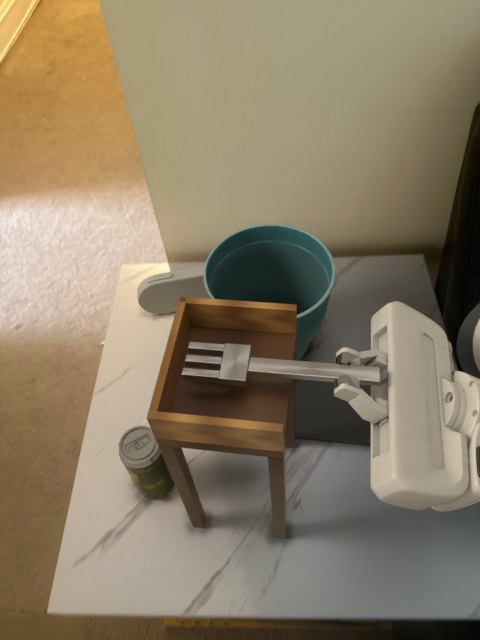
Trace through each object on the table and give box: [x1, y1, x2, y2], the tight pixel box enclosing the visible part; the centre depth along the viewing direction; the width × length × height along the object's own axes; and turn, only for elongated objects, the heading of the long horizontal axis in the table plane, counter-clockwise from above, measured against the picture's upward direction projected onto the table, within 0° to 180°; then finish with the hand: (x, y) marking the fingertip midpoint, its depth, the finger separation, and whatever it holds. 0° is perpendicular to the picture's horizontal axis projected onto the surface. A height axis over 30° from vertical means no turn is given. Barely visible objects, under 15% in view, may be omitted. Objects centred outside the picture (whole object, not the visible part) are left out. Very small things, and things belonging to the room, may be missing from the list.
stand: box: [146, 297, 297, 540], centre depth 64 cm, size 12×14×30 cm
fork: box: [182, 342, 380, 386], centre depth 52 cm, size 18×4×1 cm, turn 82°
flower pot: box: [203, 223, 337, 361], centre depth 83 cm, size 18×18×17 cm
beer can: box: [118, 424, 175, 500], centre depth 72 cm, size 5×5×12 cm
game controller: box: [136, 265, 210, 315], centre depth 93 cm, size 20×2×8 cm, turn 100°
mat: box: [295, 379, 371, 447], centre depth 82 cm, size 22×10×1 cm, turn 82°
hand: (338, 370), depth 51 cm, fingers closed on fork
